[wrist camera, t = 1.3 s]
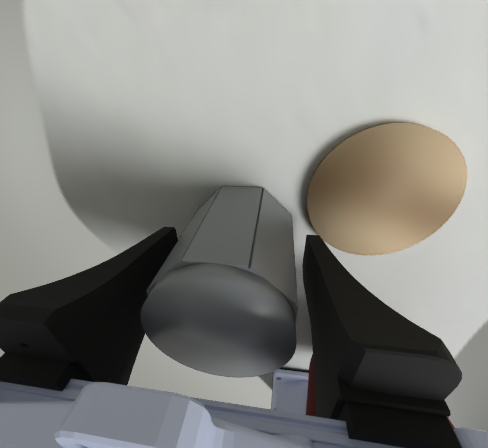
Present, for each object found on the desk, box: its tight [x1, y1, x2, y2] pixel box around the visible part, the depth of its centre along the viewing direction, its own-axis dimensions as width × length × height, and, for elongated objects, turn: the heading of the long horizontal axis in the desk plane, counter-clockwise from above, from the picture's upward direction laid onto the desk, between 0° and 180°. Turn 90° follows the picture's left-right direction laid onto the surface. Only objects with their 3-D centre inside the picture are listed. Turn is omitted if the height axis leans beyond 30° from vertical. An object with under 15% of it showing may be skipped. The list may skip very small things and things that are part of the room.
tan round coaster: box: [307, 122, 467, 255], centre depth 12 cm, size 7×7×1 cm
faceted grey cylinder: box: [140, 186, 298, 377], centre depth 11 cm, size 6×6×7 cm
